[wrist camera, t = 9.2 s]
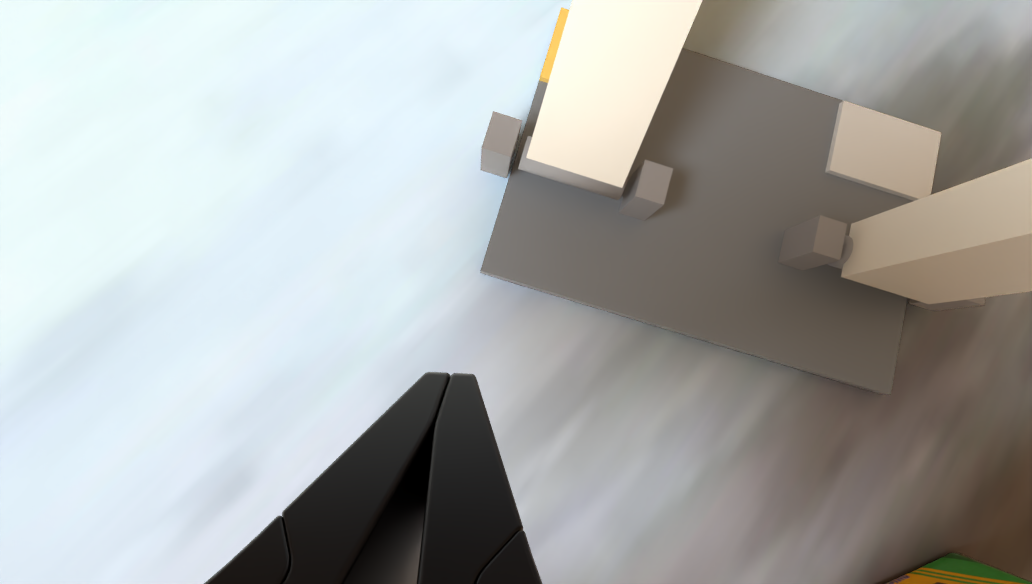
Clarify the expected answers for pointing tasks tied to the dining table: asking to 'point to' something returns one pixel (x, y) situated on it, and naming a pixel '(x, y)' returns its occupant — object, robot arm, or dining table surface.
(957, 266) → the lever
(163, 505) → the dining table surface
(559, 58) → the lever
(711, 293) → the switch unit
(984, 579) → the chalk box
